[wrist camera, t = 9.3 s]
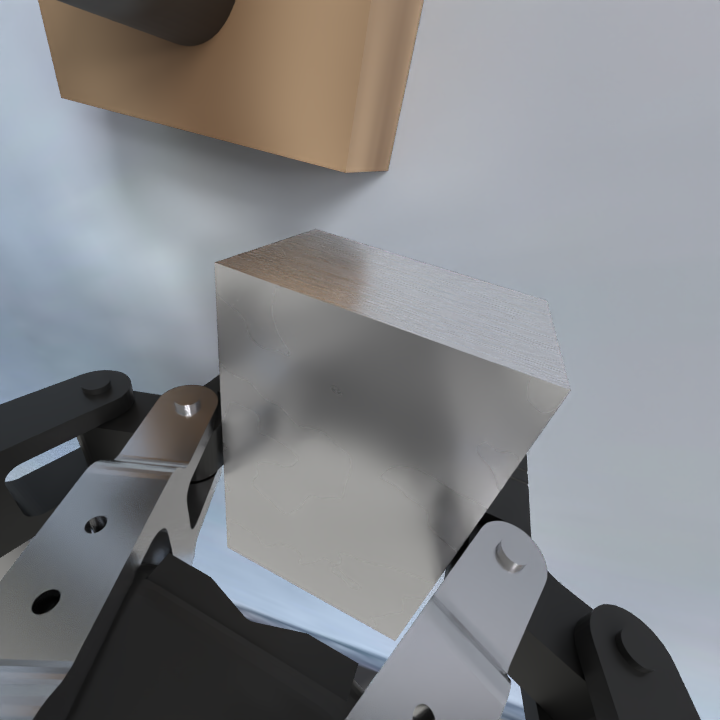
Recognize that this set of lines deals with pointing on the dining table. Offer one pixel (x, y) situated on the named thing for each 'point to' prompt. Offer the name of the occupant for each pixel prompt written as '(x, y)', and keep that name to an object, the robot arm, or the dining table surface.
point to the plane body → (245, 70)
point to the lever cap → (371, 414)
